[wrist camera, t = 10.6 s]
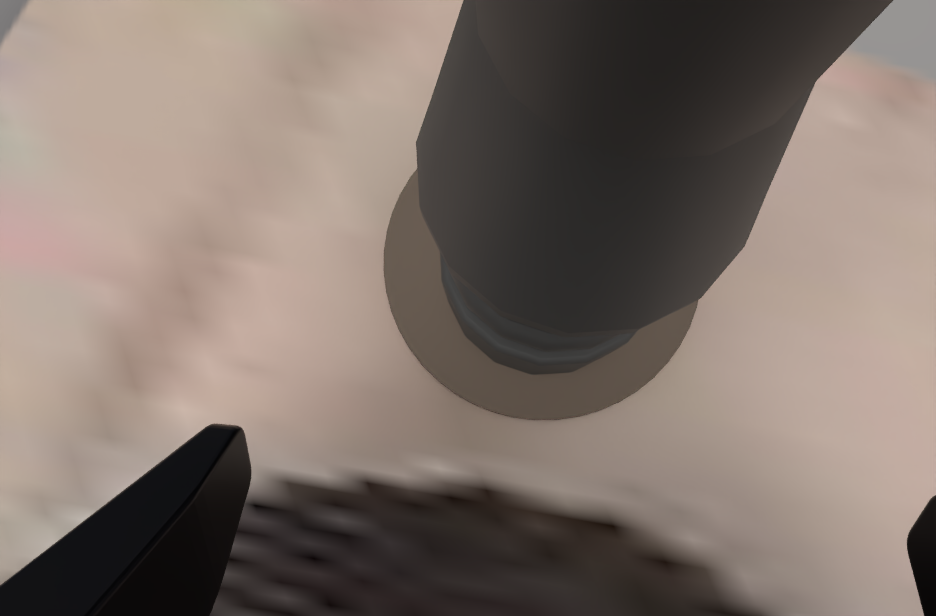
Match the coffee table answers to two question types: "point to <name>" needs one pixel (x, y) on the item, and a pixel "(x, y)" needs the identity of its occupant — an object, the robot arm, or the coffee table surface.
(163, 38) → the coffee table surface
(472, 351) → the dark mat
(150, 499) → the robot arm
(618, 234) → the candle holder
